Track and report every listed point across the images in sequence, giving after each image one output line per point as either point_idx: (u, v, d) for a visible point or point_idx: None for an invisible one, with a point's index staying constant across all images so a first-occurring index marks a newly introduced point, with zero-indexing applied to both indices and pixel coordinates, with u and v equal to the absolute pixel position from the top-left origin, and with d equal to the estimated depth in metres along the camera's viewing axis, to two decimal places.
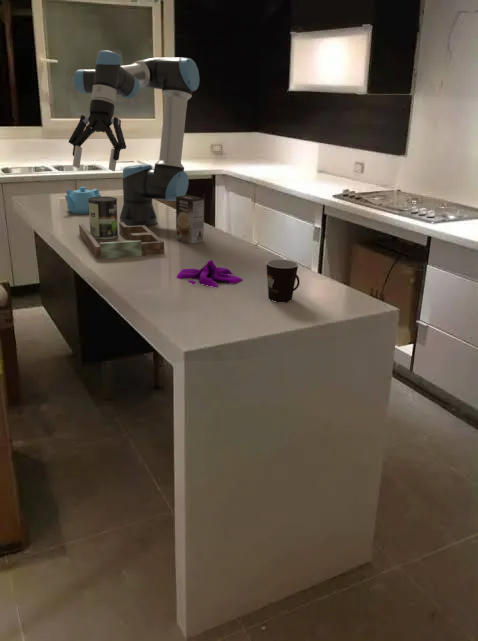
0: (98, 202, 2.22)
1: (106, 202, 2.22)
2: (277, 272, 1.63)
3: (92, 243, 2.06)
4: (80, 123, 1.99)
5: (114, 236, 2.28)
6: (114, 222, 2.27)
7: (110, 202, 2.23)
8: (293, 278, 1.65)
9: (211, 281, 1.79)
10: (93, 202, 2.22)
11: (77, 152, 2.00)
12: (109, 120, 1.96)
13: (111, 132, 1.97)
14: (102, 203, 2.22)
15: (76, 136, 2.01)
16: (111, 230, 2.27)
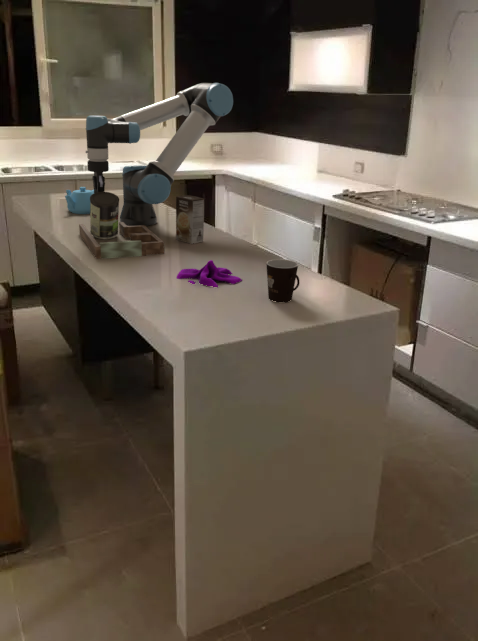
0: (100, 206, 2.18)
1: (108, 207, 2.18)
2: (277, 272, 1.63)
3: (92, 243, 2.06)
4: None
5: (114, 235, 2.28)
6: (115, 223, 2.25)
7: (112, 206, 2.19)
8: (293, 278, 1.65)
9: (211, 281, 1.79)
10: (95, 205, 2.18)
11: None
12: (97, 179, 2.25)
13: None
14: (104, 208, 2.18)
15: None
16: (111, 231, 2.26)
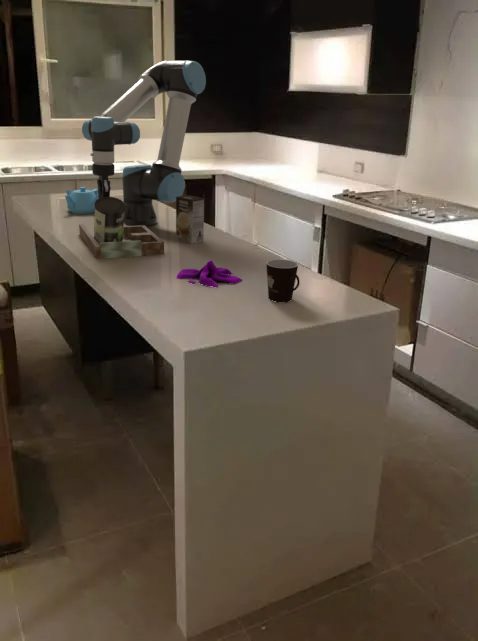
0: (105, 213, 2.08)
1: (114, 213, 2.08)
2: (277, 272, 1.63)
3: (92, 243, 2.06)
4: None
5: None
6: (120, 230, 2.15)
7: (118, 213, 2.09)
8: (293, 278, 1.65)
9: (211, 281, 1.79)
10: (100, 211, 2.08)
11: None
12: (102, 183, 2.14)
13: None
14: (110, 214, 2.08)
15: None
16: (116, 238, 2.16)
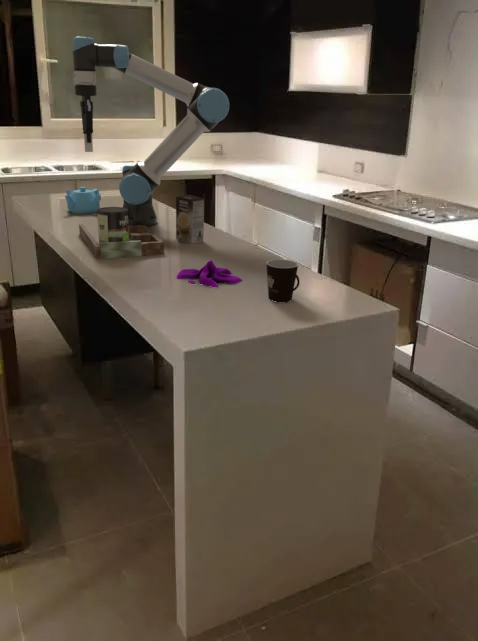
0: (107, 213, 2.03)
1: (116, 213, 2.04)
2: (277, 272, 1.63)
3: (92, 243, 2.06)
4: None
5: None
6: (125, 235, 2.08)
7: (121, 213, 2.04)
8: (293, 278, 1.65)
9: (211, 281, 1.79)
10: (102, 213, 2.04)
11: None
12: (85, 103, 2.22)
13: None
14: (112, 215, 2.03)
15: None
16: None
